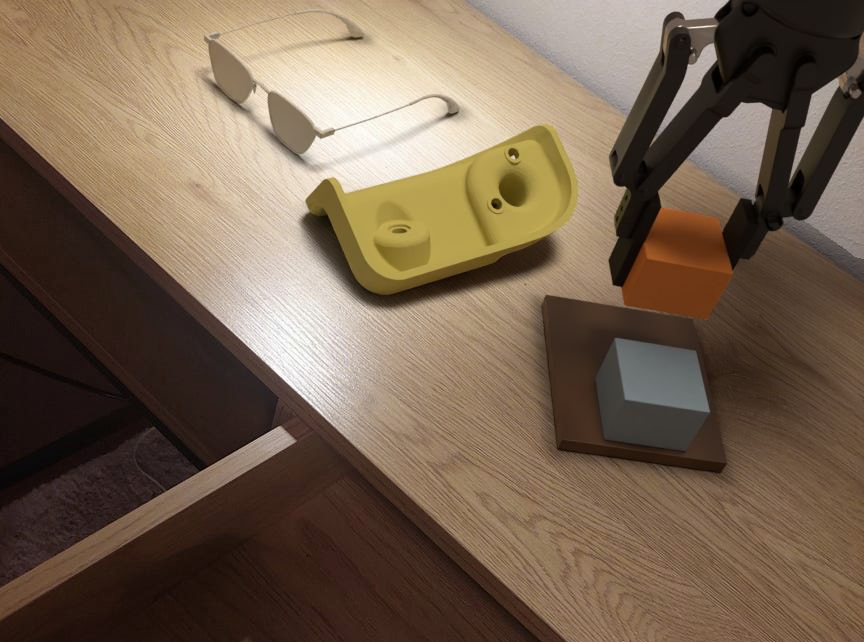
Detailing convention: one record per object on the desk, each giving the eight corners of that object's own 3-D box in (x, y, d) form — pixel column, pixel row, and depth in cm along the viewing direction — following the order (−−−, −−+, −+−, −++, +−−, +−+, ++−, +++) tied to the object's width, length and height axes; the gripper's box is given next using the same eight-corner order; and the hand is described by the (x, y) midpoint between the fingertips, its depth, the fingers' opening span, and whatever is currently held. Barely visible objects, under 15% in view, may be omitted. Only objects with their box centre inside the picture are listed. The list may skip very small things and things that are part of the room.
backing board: (688, 328, 84) (693, 318, 83) (721, 472, 75) (727, 463, 74) (541, 304, 82) (545, 294, 81) (557, 449, 73) (562, 439, 73)
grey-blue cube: (673, 390, 78) (696, 350, 74) (685, 452, 74) (710, 412, 71) (594, 378, 77) (614, 337, 74) (603, 440, 73) (625, 399, 70)
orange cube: (693, 264, 76) (718, 217, 73) (707, 320, 73) (734, 273, 70) (614, 249, 75) (635, 201, 72) (623, 305, 72) (647, 258, 69)
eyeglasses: (199, 73, 92) (201, 28, 88) (354, 30, 101) (362, -13, 98) (313, 172, 86) (320, 128, 83) (466, 117, 96) (478, 75, 92)
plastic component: (377, 287, 76) (322, 159, 76) (346, 326, 83) (296, 209, 83) (596, 221, 83) (545, 105, 83) (551, 262, 90) (504, 154, 90)
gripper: (680, -76, 52) (533, 294, 70) (1026, 5, 55) (799, 340, 73) (658, -140, 56) (526, 224, 75) (980, -62, 59) (776, 269, 78)
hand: (661, 281), depth 74 cm, fingers closed on orange cube, 6 cm apart
